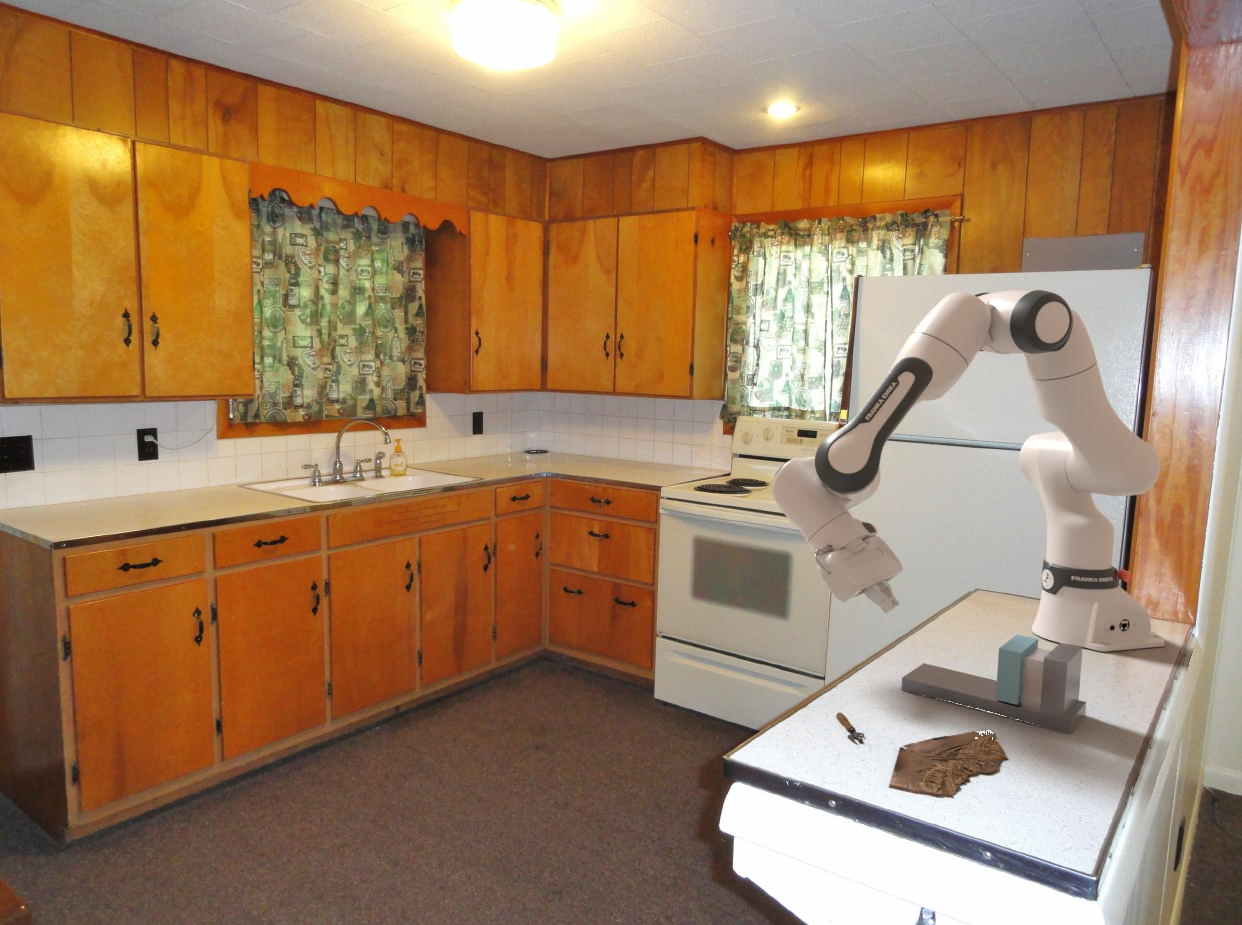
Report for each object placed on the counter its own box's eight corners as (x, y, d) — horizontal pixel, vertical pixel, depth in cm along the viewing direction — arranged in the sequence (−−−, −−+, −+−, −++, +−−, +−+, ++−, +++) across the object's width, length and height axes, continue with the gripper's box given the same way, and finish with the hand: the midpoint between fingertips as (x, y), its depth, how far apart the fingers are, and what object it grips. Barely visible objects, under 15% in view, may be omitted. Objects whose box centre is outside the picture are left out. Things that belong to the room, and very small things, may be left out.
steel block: (1020, 703, 121) (1023, 657, 120) (1031, 692, 126) (1035, 647, 125) (1042, 709, 119) (1046, 662, 118) (1053, 697, 124) (1057, 651, 123)
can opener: (835, 719, 120) (835, 711, 120) (851, 719, 120) (852, 711, 120) (851, 747, 111) (851, 739, 111) (868, 748, 111) (869, 739, 111)
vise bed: (901, 689, 131) (904, 628, 130) (923, 674, 138) (926, 616, 137) (1070, 734, 116) (1075, 664, 115) (1085, 715, 122) (1090, 649, 121)
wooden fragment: (934, 810, 95) (934, 802, 95) (853, 773, 104) (854, 765, 104) (1038, 750, 112) (1039, 742, 111) (961, 722, 120) (961, 715, 120)
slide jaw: (995, 699, 122) (999, 648, 121) (1013, 682, 129) (1017, 634, 128) (1017, 704, 120) (1021, 653, 119) (1034, 687, 127) (1038, 638, 126)
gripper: (823, 540, 132) (880, 612, 126) (877, 522, 147) (930, 586, 142) (797, 563, 135) (851, 634, 130) (852, 543, 150) (903, 606, 145)
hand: (893, 609), depth 136 cm, fingers closed
